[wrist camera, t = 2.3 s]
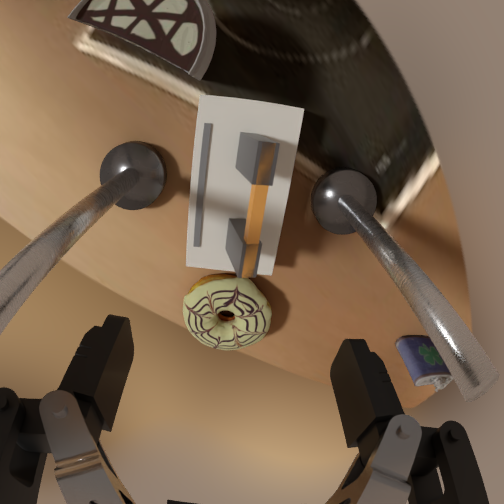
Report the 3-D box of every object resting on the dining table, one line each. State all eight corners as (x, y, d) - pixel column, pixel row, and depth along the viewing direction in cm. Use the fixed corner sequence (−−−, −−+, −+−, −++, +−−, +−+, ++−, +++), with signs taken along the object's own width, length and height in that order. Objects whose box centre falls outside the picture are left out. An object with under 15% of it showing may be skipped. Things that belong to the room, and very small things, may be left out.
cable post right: (304, 224, 32) (391, 442, 10) (318, 161, 28) (482, 335, 7) (361, 232, 32) (481, 416, 11) (378, 174, 29) (553, 324, 8)
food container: (249, 38, 22) (253, 7, 14) (211, 86, 25) (195, 78, 16) (148, -12, 19) (111, -49, 10) (113, 35, 21) (63, 16, 12)
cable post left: (106, 202, 30) (-40, 371, 8) (106, 140, 26) (-96, 257, 5) (165, 207, 30) (54, 418, 9) (168, 142, 27) (-14, 287, 6)
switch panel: (190, 252, 33) (185, 267, 30) (204, 95, 25) (199, 94, 22) (269, 261, 34) (271, 276, 31) (298, 108, 26) (304, 108, 23)
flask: (391, 345, 42) (416, 396, 33) (401, 332, 41) (428, 383, 32) (428, 348, 44) (453, 393, 34) (437, 336, 42) (464, 380, 33)
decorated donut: (248, 255, 34) (249, 273, 30) (281, 319, 39) (284, 339, 35) (170, 286, 35) (164, 305, 32) (211, 343, 40) (209, 363, 37)
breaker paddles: (225, 248, 29) (238, 278, 25) (240, 131, 23) (258, 140, 19) (241, 248, 29) (256, 277, 25) (258, 133, 24) (280, 143, 20)
